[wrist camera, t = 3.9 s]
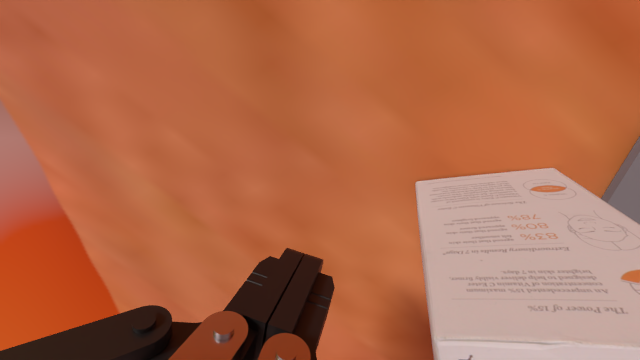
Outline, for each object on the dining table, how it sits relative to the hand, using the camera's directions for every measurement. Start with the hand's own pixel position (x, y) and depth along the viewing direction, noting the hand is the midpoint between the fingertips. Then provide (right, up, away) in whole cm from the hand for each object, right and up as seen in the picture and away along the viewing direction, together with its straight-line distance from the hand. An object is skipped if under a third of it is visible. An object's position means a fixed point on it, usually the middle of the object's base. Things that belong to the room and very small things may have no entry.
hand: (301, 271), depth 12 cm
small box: (+12, +1, +8) cm, 14 cm away
